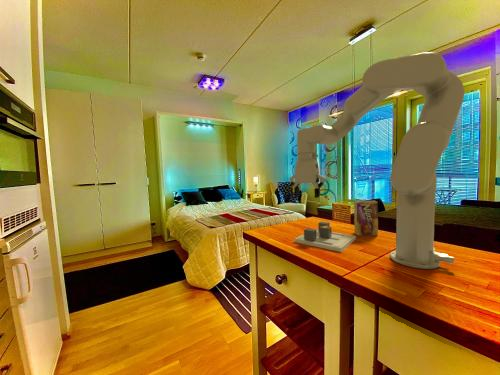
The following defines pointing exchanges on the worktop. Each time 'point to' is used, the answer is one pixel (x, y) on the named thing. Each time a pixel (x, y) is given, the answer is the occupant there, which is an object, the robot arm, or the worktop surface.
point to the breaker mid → (325, 232)
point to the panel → (329, 241)
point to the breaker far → (323, 224)
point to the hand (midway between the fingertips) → (306, 196)
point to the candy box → (366, 217)
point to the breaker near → (310, 234)
